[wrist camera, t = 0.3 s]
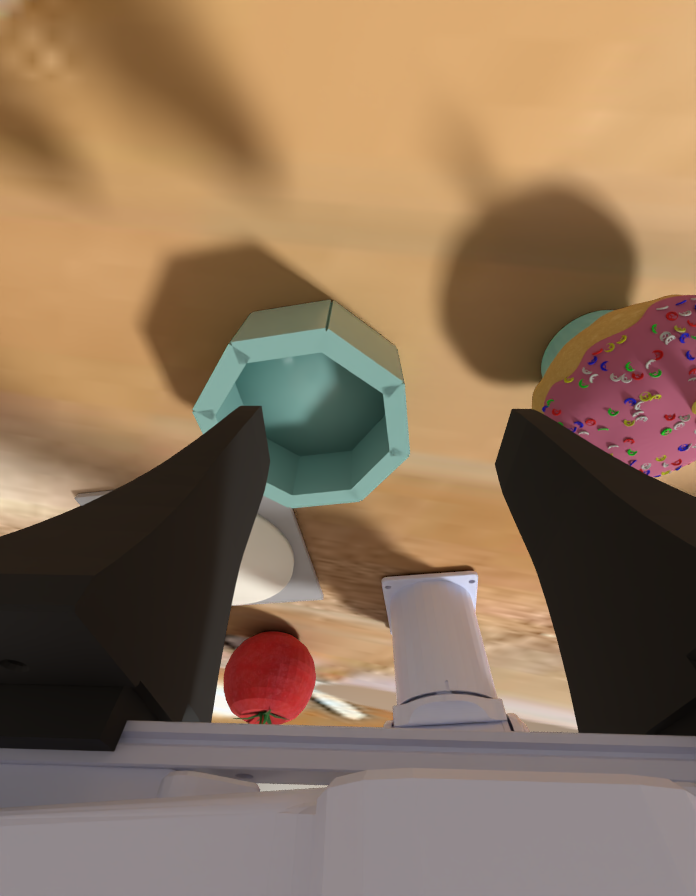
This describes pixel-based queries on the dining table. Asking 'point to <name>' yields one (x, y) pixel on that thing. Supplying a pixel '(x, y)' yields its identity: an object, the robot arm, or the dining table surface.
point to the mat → (284, 519)
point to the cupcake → (627, 382)
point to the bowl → (315, 401)
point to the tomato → (269, 678)
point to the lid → (263, 564)
